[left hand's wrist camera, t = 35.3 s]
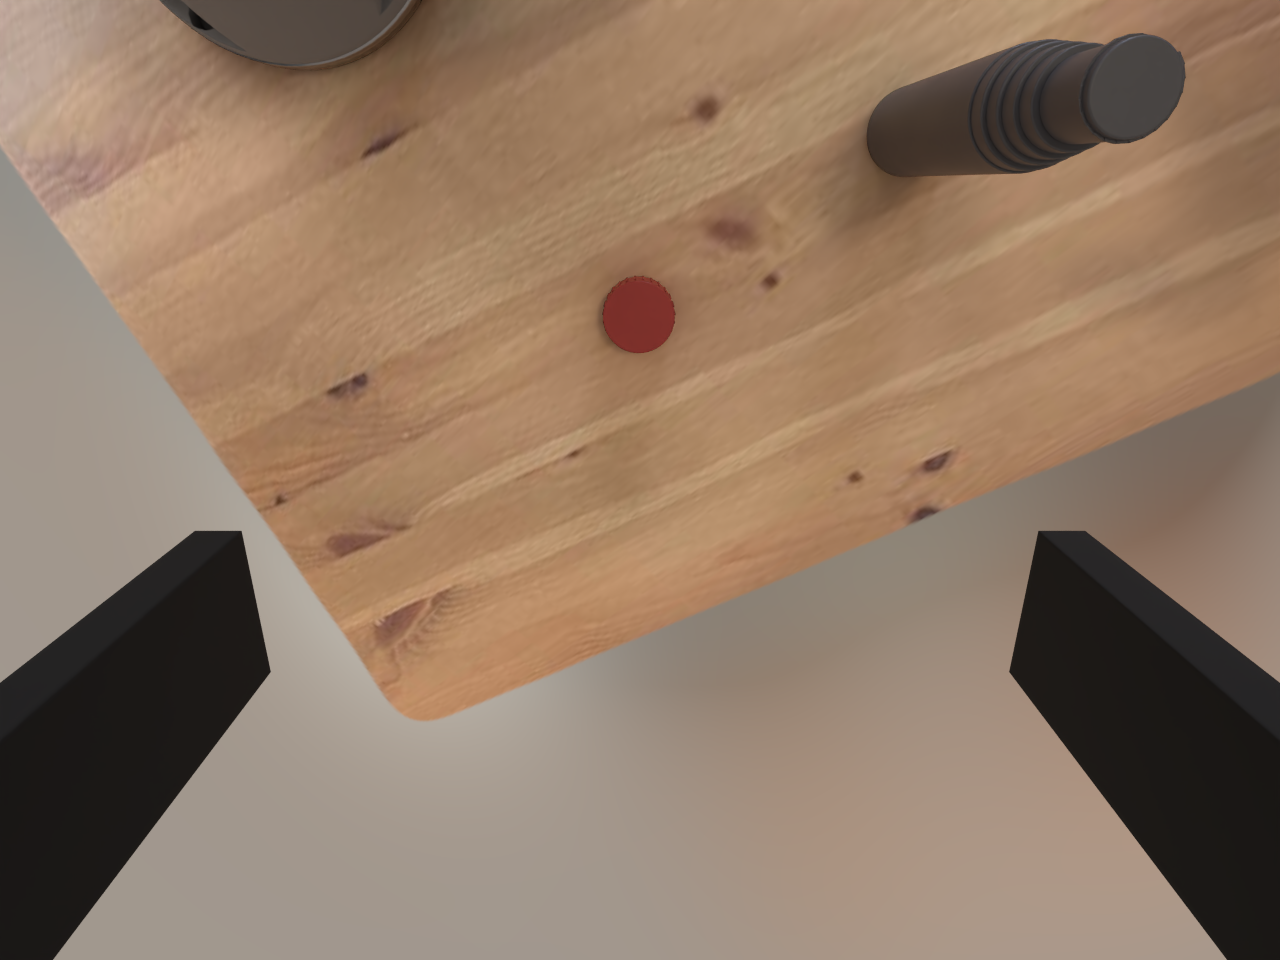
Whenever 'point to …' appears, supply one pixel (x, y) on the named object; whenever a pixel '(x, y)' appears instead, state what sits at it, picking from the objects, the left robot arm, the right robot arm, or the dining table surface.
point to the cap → (638, 314)
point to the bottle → (1027, 107)
